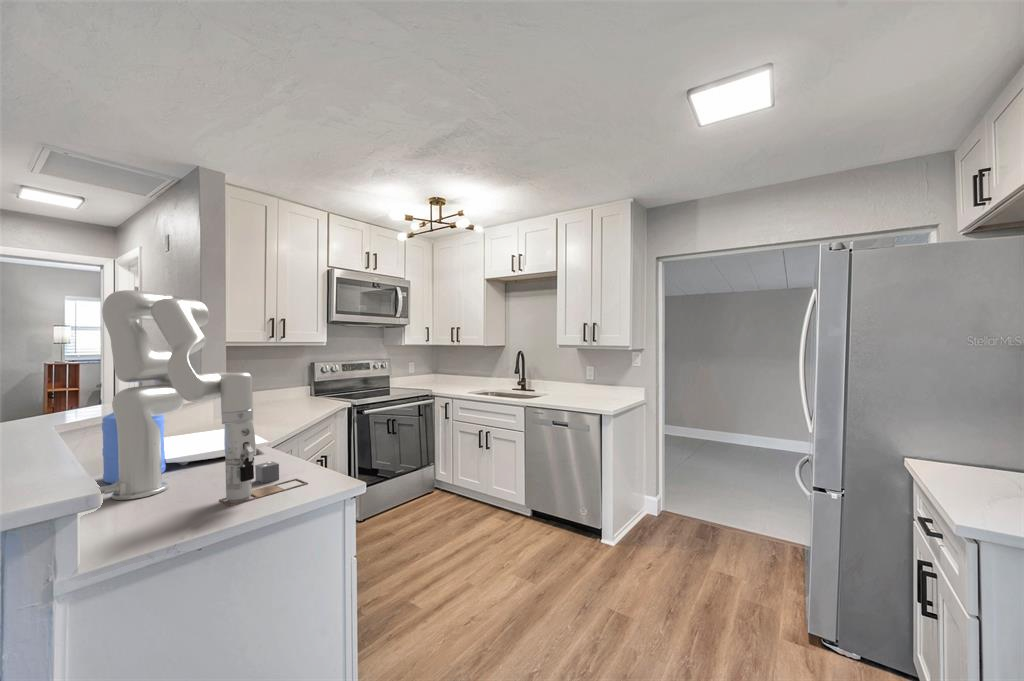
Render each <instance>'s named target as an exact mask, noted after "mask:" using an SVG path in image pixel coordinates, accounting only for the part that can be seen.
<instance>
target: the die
mask: <svg viewBox="0 0 1024 681" xmlns="http://www.w3.org/2000/svg"><path fill="white" fill-rule="evenodd" d="M254 468H255V471H254V477H255V482H258V483H260V484H267V483H270V482H271V483H272V482H274V481H279V480H280V464H279V463H278V462H275V461H267V462H264V463H258V464H254Z"/></svg>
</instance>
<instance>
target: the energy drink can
mask: <svg viewBox="0 0 1024 681" xmlns="http://www.w3.org/2000/svg"><path fill="white" fill-rule="evenodd" d="M243 449H244V448H243ZM242 456H243V455H242ZM224 457H225V459H224V460H225V461H224V462H225V498H226V499H225V500H227V501H228V503H232V504H234V503H238V502H241V501H245V500H248V499H250V497H251V496H252V495H251V494H252V490H253V489H252V480H248V481H244V482H241V481H240V467H242V466H241V464H240V461H239V459H235V458H234V456H233V454H232V452H231V450H230V448H228V450H227V452H226V454H225V456H224ZM243 460H244V461H245V459H243Z"/></svg>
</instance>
